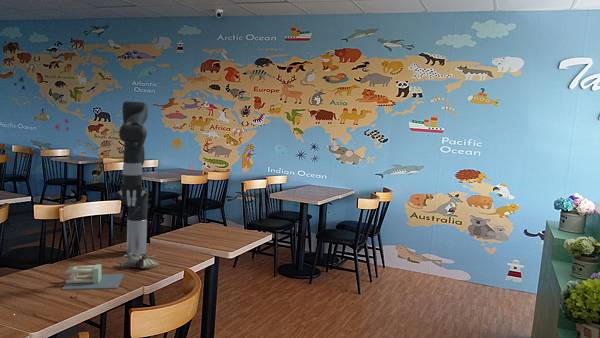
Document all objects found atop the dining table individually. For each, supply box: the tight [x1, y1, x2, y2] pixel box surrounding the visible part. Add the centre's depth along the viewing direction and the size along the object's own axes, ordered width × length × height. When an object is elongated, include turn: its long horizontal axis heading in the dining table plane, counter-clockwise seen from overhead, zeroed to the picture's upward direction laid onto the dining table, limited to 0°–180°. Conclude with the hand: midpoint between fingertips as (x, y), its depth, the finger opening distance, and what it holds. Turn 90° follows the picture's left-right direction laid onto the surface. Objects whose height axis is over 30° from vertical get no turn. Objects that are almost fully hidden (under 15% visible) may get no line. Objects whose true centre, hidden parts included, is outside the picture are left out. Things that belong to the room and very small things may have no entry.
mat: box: [61, 273, 125, 291], centre depth 181 cm, size 16×20×1 cm
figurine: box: [118, 253, 163, 269], centre depth 203 cm, size 20×6×17 cm
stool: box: [65, 263, 102, 285], centre depth 180 cm, size 6×6×12 cm
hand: (131, 214), depth 187 cm, fingers closed
